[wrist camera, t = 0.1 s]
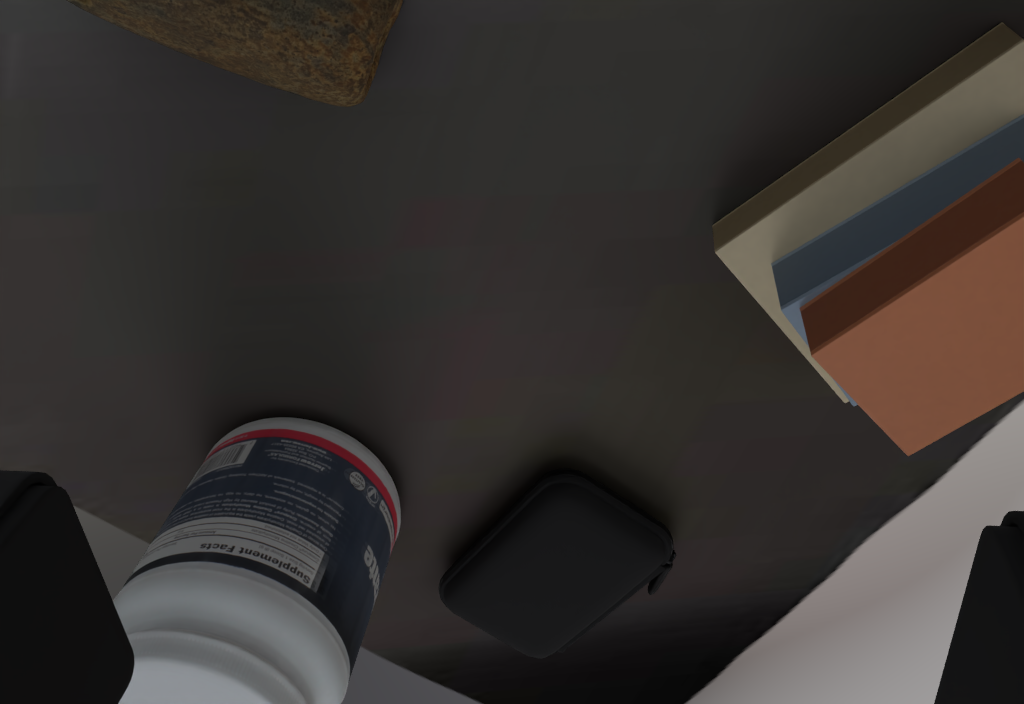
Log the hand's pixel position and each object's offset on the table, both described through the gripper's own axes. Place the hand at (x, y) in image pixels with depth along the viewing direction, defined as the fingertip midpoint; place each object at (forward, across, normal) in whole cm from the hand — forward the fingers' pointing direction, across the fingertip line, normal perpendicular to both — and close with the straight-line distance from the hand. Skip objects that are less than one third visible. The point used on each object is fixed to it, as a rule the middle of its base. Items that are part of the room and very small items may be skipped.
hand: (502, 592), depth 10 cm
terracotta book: (+29, -14, +12) cm, 35 cm away
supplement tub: (+37, +20, +31) cm, 52 cm away
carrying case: (+37, +4, +36) cm, 52 cm away
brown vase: (+37, +17, 0) cm, 41 cm away
